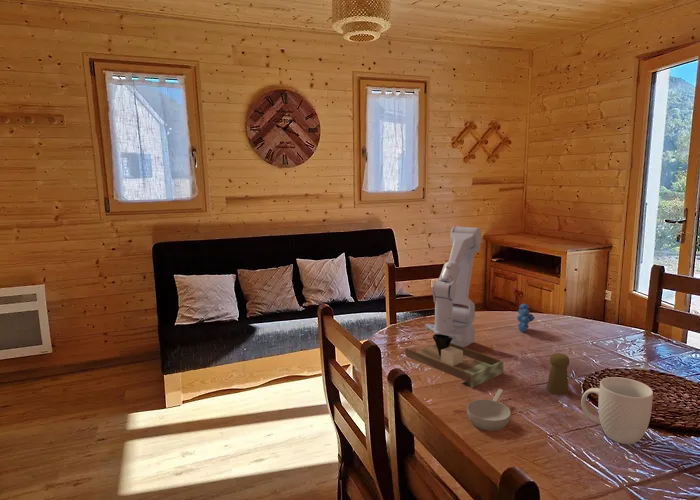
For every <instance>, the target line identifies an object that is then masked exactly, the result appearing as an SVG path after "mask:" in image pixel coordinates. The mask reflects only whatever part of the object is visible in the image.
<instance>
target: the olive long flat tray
mask: <svg viewBox="0 0 700 500" xmlns="http://www.w3.org/2000/svg"><path fill="white" fill-rule="evenodd" d="M450 346H452V347H454V348H457V349H460V350H463V356H465V357H468V358H470V359H473V360H472V361H471V360H470V361H465V360H463V362H462V363H459V364H457V365H454V366H451V365H449V364H446V363H444V362H441V356H439V352H438V348H437V345H436V344H433V345H431V346H428V347H425V348H422V349H419V350H417V351H414V350H412V349H409V348H405V357H408V358H411V359H412V360H415V361H417V362H420V363H422V364H424V365H426V366H430V367H433V368H434V369H437V370H439V371H441V372H444V373H446V374H449V375H450V376H454V377H455V378H458V379H461V380H463V381H464V382H462V383H461V384H462V385H464V386H466V387H469V388H471V389H472V388H475V387H477V386H479V385H481V384H483V383H485V382H487V381H489V380H491V379H494V378H495V377H498V376H500V375H502V374H503V373H504V361H503V360H501V359H499V358H495V357H493V356H490V355H487V354H485V353H481V352H478V351H476V350H472V349H469V348H466V347H461V346H459V345H456V344H453V343H450V344H449V347H450Z"/></svg>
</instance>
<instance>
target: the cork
mask: <svg viewBox="0 0 700 500" xmlns="http://www.w3.org/2000/svg"><path fill="white" fill-rule="evenodd" d="M549 362H550V364H551V365H550V371H549V374H548V380H547V383H546V384H547V385H546V391H548V392H549V393H551V394H553V395H558V396H564V395H565V396H566V395H568V394H569V393H570V392H569V391H570V389H569V378H568V367H569V365H570V358H569V356H568V355H567V354H564V353H561V352H555V353H552V354H551V355H550V357H549Z"/></svg>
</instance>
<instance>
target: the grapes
mask: <svg viewBox="0 0 700 500" xmlns="http://www.w3.org/2000/svg"><path fill="white" fill-rule="evenodd" d="M518 308H519V309H518V310H517V313H518V315H517V317H516V318H517V319H516V320H517V321H518V323H517V326H518V329H519V331H520V333H521V332H522V333H525V332H526V331H527V330H528V329H529V327H530V326H529V325H528V324H529V323H530V322H533V321H534V320H535V319H536V317H535V316H534V315H533V314H532V313H531V312H530V310H528V309H530V307H529V305H528V304H527V303H520V304H519V306H518Z"/></svg>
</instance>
